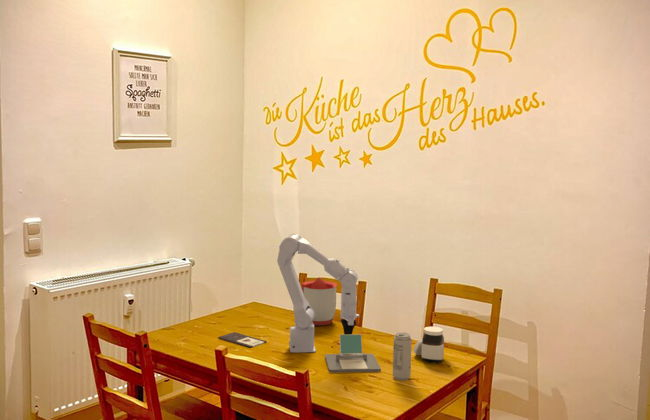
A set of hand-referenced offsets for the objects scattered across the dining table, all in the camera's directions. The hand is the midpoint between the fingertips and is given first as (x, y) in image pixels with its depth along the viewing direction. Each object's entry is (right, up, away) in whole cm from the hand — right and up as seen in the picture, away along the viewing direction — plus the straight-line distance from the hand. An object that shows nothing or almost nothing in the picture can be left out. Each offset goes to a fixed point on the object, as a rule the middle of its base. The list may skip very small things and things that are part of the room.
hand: (347, 338), depth 248 cm
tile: (+1, -1, -8) cm, 8 cm away
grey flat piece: (+1, -7, -12) cm, 14 cm away
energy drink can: (+17, -9, -24) cm, 31 cm away
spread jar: (+29, -7, -4) cm, 31 cm away
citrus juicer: (-12, -1, +40) cm, 42 cm away
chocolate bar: (-41, -4, +13) cm, 44 cm away
